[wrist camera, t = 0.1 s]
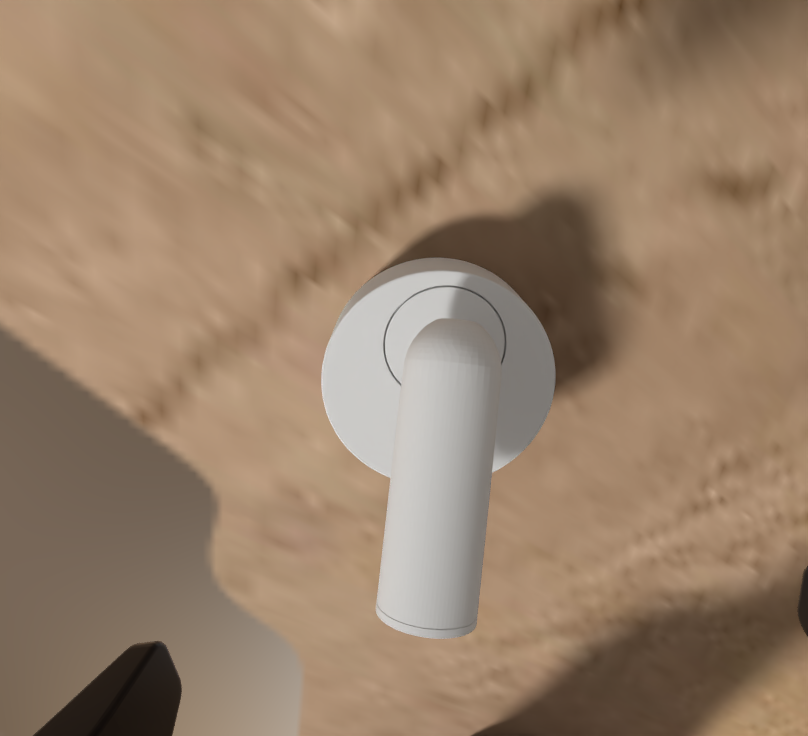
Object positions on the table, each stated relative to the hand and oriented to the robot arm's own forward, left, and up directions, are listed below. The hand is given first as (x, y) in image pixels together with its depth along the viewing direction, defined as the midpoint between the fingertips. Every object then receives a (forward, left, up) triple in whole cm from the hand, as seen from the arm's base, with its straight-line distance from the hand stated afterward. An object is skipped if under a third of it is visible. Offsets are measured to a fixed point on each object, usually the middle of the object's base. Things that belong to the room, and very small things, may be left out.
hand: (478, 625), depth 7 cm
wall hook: (-2, 0, -15) cm, 15 cm away
